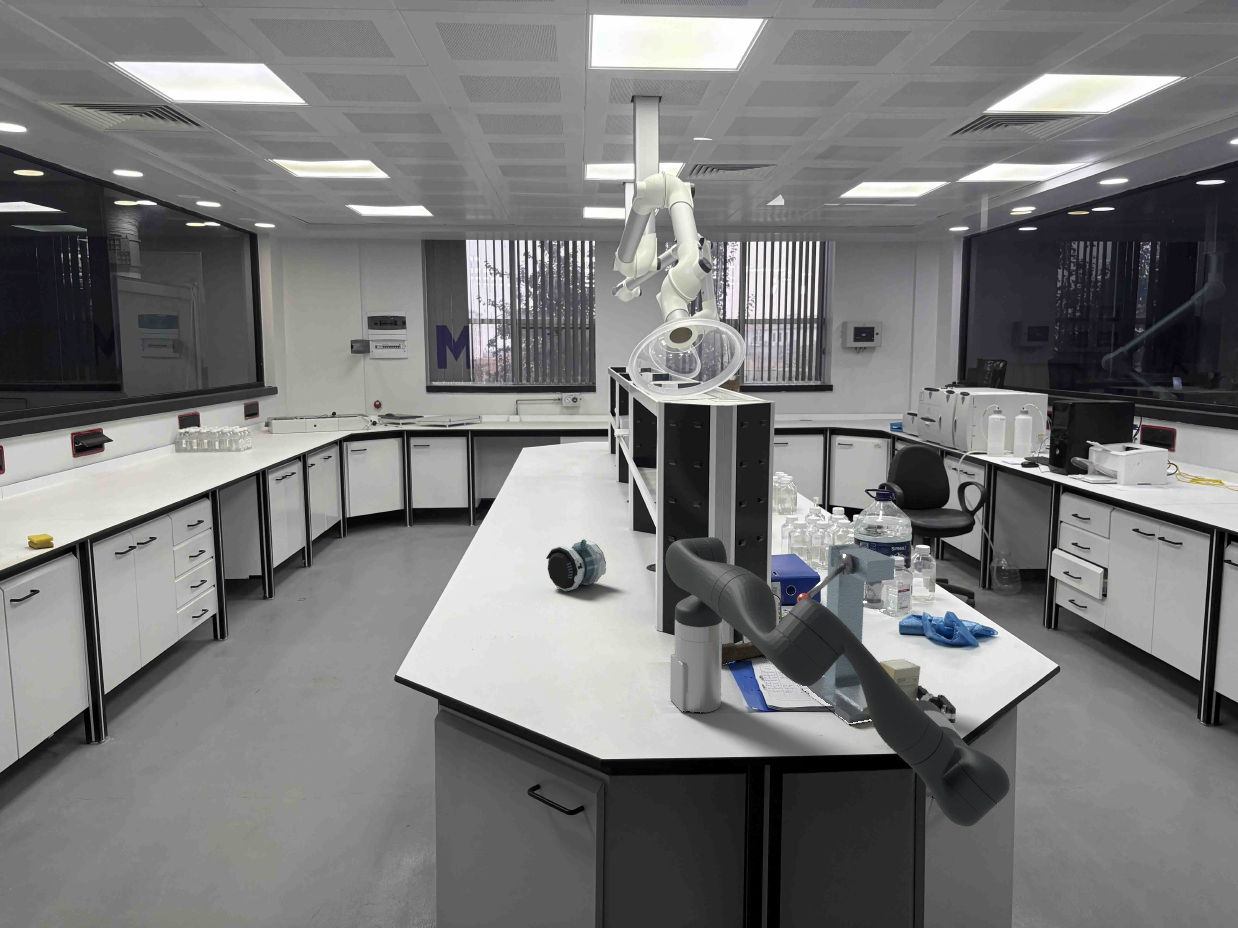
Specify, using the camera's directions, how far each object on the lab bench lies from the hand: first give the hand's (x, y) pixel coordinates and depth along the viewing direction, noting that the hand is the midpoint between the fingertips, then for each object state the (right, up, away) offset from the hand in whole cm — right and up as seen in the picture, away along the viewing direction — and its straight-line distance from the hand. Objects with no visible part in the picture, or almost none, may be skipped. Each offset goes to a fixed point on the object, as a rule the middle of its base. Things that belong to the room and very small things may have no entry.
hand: (896, 690), depth 146 cm
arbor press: (-6, -6, +12) cm, 14 cm away
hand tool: (-22, -3, +34) cm, 40 cm away
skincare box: (-1, -7, 0) cm, 7 cm away
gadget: (-63, +5, +89) cm, 109 cm away
